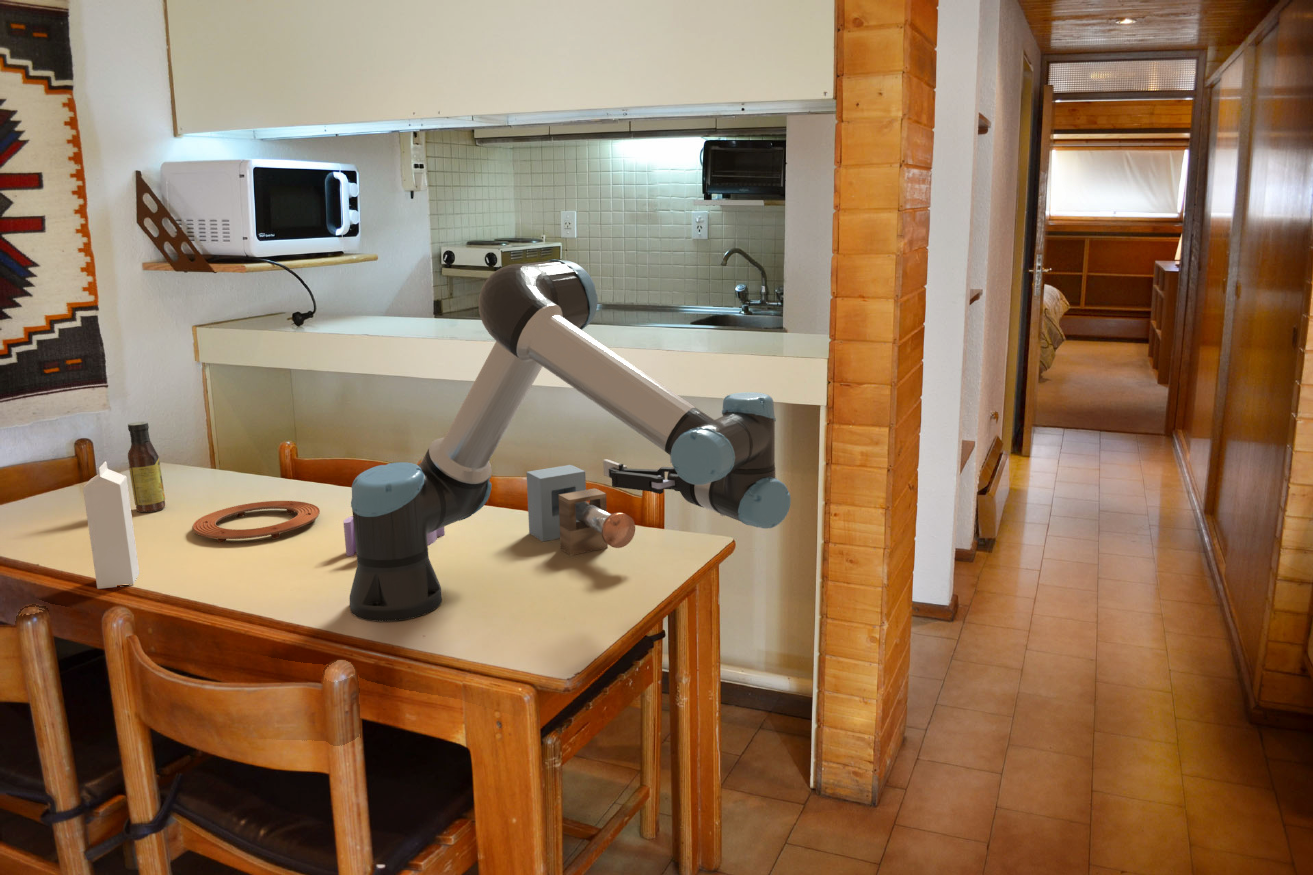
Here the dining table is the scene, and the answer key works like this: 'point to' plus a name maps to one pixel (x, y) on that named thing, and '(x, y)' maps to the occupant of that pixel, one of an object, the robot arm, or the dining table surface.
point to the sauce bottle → (145, 470)
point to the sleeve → (576, 533)
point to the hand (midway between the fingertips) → (639, 460)
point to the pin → (607, 524)
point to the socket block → (550, 498)
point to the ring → (211, 530)
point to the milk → (111, 529)
